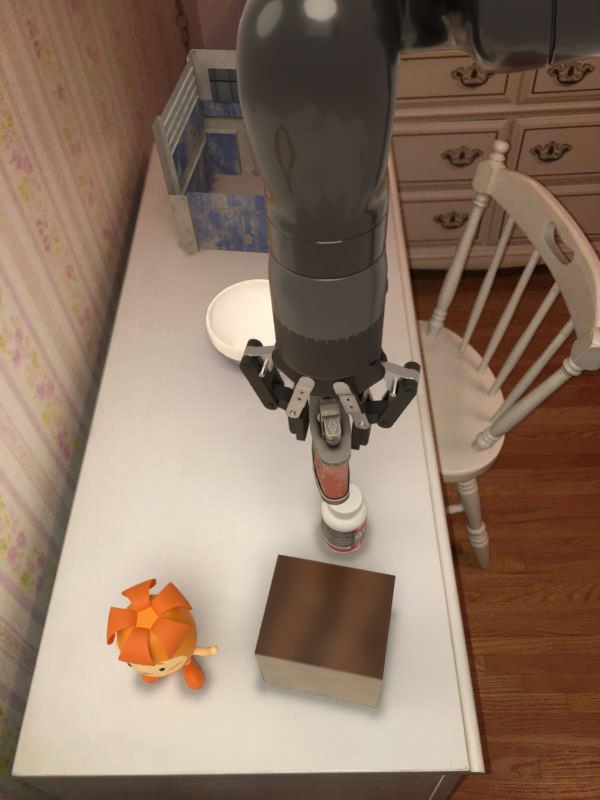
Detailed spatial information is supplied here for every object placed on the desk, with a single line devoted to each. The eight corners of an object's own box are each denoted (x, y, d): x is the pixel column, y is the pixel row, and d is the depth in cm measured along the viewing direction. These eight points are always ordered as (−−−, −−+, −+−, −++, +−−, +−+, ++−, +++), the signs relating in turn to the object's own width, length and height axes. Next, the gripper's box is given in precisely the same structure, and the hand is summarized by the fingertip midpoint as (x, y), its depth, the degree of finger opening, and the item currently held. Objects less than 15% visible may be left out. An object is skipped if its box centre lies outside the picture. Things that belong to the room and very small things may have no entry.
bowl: (326, 336, 99) (326, 301, 93) (271, 401, 92) (267, 367, 86) (251, 301, 104) (245, 265, 98) (193, 359, 97) (184, 325, 91)
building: (331, 175, 123) (330, 50, 104) (314, 259, 109) (310, 133, 91) (213, 169, 126) (191, 46, 107) (182, 251, 112) (151, 126, 93)
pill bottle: (364, 556, 78) (367, 520, 70) (320, 553, 78) (318, 517, 70) (366, 515, 81) (369, 477, 73) (323, 513, 81) (322, 474, 73)
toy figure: (116, 688, 70) (70, 649, 58) (138, 615, 75) (100, 565, 63) (222, 704, 69) (198, 669, 56) (237, 629, 73) (218, 581, 61)
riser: (387, 614, 73) (395, 575, 64) (375, 707, 68) (382, 680, 58) (285, 594, 75) (278, 553, 66) (265, 684, 70) (254, 653, 60)
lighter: (355, 502, 58) (358, 443, 50) (318, 507, 58) (315, 448, 50) (341, 428, 62) (342, 363, 54) (307, 433, 62) (302, 368, 54)
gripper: (207, 321, 41) (239, 459, 55) (431, 352, 39) (407, 488, 53) (239, 244, 45) (262, 390, 59) (443, 267, 43) (417, 414, 57)
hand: (330, 436), depth 56 cm, fingers closed on lighter, 4 cm apart
